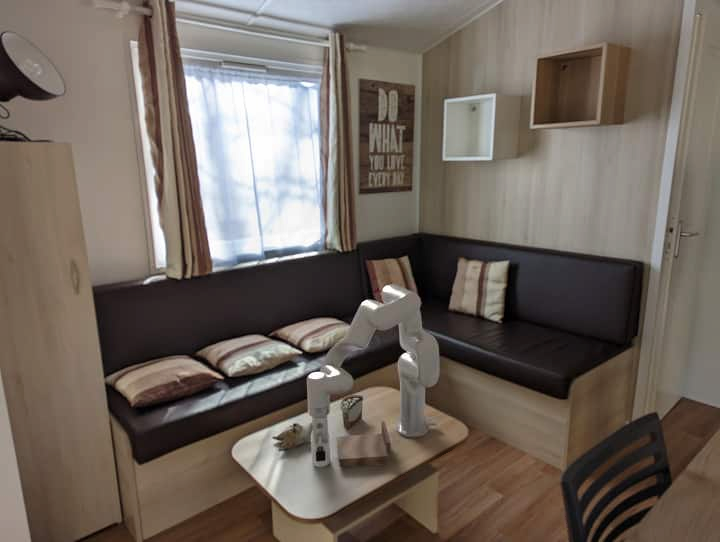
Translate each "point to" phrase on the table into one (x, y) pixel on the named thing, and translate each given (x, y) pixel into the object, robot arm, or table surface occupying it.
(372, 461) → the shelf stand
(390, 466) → the table surface
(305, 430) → the ceramic sculpture
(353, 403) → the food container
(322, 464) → the can
